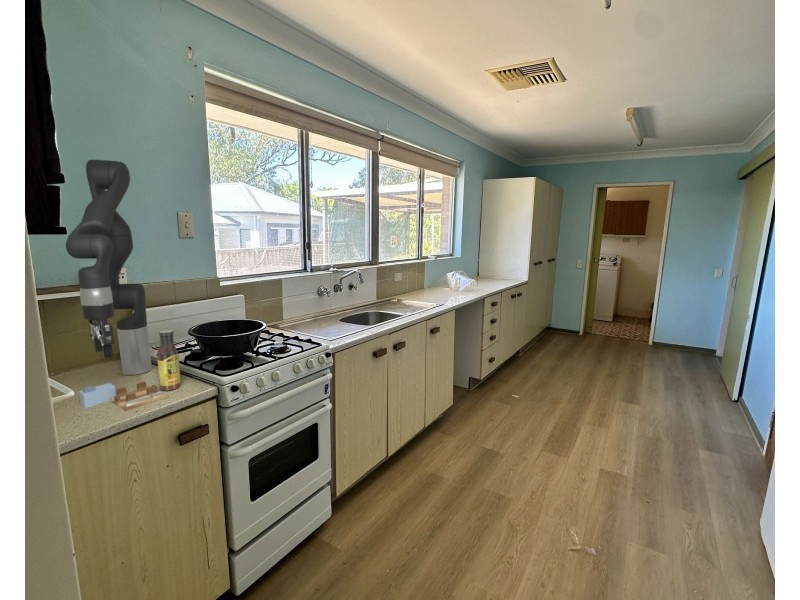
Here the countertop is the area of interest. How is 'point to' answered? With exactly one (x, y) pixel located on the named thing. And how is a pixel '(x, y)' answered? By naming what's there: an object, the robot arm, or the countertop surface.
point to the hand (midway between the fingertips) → (104, 354)
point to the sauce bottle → (168, 362)
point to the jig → (137, 396)
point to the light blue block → (96, 394)
